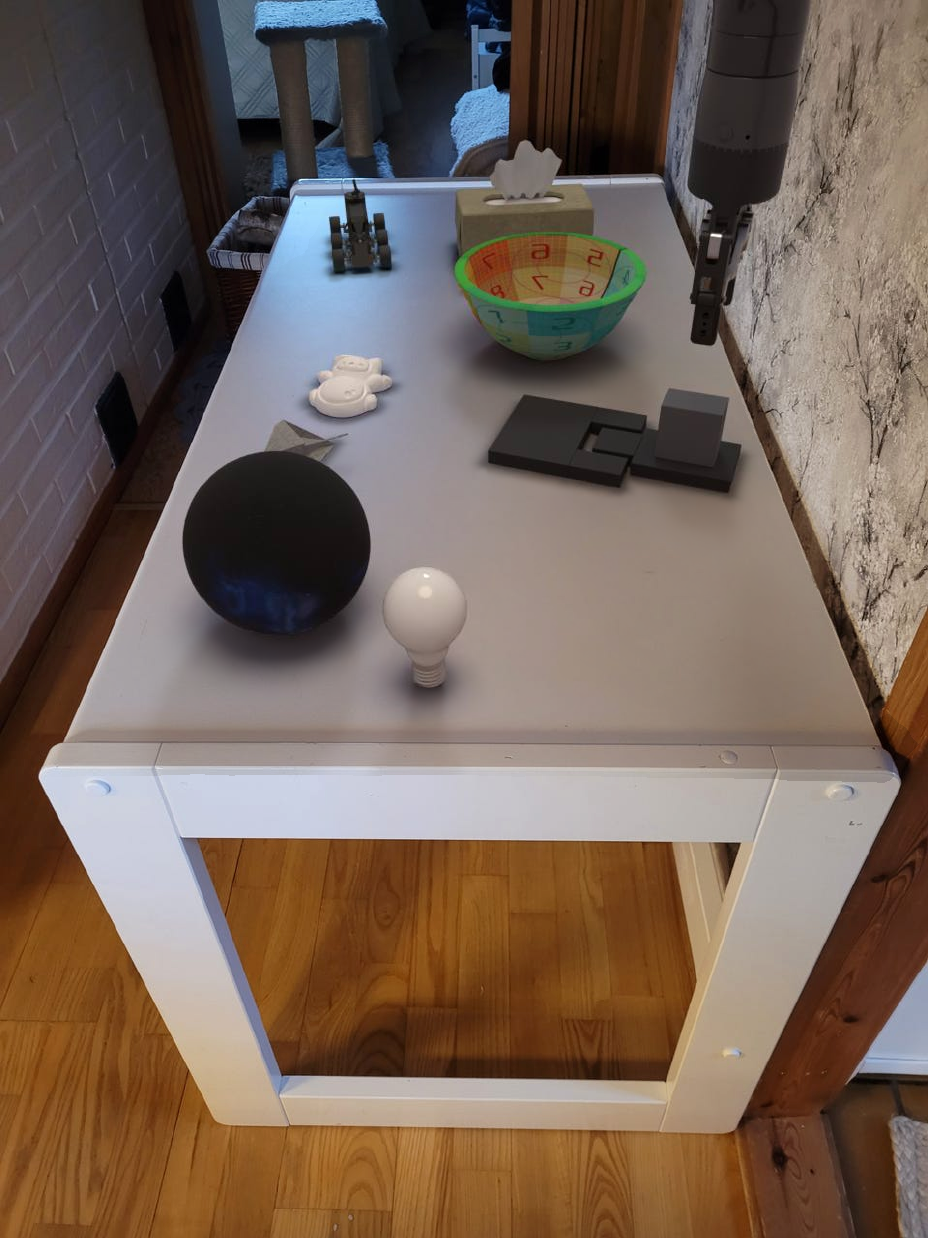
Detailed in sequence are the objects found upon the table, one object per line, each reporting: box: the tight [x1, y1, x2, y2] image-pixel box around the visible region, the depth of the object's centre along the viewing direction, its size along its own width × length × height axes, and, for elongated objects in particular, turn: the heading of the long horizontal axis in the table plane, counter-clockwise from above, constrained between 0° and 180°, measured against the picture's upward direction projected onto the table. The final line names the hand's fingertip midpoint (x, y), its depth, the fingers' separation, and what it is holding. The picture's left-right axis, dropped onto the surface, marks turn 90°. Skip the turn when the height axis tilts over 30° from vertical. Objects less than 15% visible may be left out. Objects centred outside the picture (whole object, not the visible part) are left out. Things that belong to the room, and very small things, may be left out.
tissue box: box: [454, 139, 595, 259], centre depth 133 cm, size 19×10×16 cm, turn 95°
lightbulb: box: [381, 566, 468, 688], centre depth 73 cm, size 6×6×11 cm
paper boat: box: [263, 419, 349, 462], centre depth 97 cm, size 12×6×9 cm
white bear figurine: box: [308, 354, 393, 418], centre depth 110 cm, size 9×12×3 cm
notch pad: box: [487, 393, 648, 488], centre depth 101 cm, size 14×12×2 cm
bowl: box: [453, 232, 648, 361], centre depth 114 cm, size 22×22×10 cm
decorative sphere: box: [181, 451, 372, 636], centre depth 78 cm, size 15×15×15 cm
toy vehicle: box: [328, 178, 393, 273], centre depth 137 cm, size 8×15×9 cm, turn 8°
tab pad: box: [591, 387, 743, 494], centre depth 96 cm, size 14×7×8 cm, turn 69°
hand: (711, 322), depth 87 cm, fingers open, 8 cm apart
